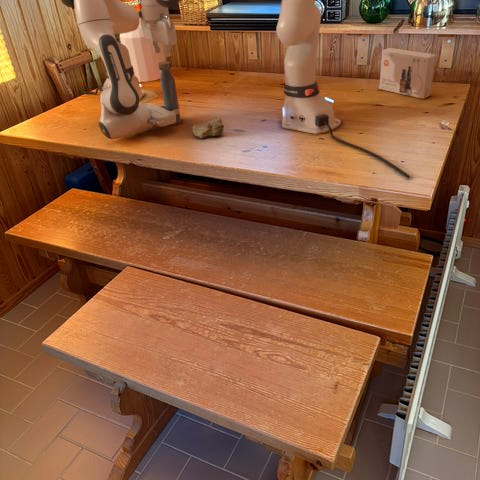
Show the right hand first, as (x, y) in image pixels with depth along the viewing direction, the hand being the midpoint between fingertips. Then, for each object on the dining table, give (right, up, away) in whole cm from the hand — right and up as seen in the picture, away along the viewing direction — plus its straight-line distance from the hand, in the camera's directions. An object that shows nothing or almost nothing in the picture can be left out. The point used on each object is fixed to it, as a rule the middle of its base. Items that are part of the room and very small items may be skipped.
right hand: (162, 54), depth 169 cm
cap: (0, -3, +2) cm, 3 cm away
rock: (+17, -29, +1) cm, 34 cm away
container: (-20, +19, +75) cm, 80 cm away
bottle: (+2, -21, +14) cm, 26 cm away
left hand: (+2, -16, +12) cm, 20 cm away
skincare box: (+95, -8, +20) cm, 98 cm away
